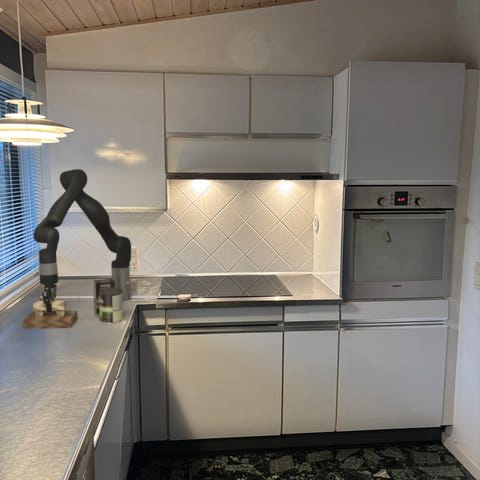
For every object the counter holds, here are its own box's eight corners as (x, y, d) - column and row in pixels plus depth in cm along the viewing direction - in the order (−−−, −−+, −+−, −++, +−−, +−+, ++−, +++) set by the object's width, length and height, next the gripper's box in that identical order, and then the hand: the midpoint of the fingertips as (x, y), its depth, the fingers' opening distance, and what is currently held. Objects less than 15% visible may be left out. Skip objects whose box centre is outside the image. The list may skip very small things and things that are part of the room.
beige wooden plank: (67, 317, 216) (66, 300, 214) (64, 320, 212) (64, 303, 210) (37, 318, 214) (36, 301, 213) (34, 321, 210) (33, 303, 209)
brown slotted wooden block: (77, 318, 220) (77, 310, 219) (71, 327, 208) (70, 318, 208) (32, 319, 218) (31, 311, 218) (23, 328, 206) (22, 319, 206)
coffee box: (96, 317, 223) (95, 283, 220) (93, 313, 229) (92, 280, 226) (116, 314, 227) (115, 281, 225) (113, 310, 233) (112, 278, 230)
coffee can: (101, 325, 211) (100, 294, 209) (98, 318, 221) (97, 288, 219) (125, 322, 215) (124, 292, 213) (121, 316, 225) (120, 286, 223)
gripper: (52, 276, 203) (54, 315, 206) (61, 268, 217) (63, 305, 220) (34, 276, 202) (36, 315, 205) (44, 268, 216) (46, 305, 219)
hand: (50, 310), depth 212 cm, fingers closed on beige wooden plank, 4 cm apart
